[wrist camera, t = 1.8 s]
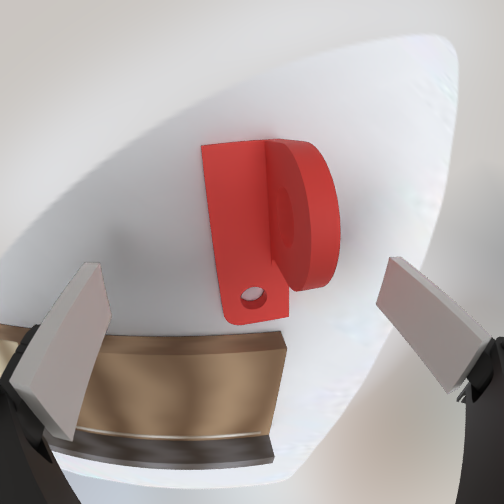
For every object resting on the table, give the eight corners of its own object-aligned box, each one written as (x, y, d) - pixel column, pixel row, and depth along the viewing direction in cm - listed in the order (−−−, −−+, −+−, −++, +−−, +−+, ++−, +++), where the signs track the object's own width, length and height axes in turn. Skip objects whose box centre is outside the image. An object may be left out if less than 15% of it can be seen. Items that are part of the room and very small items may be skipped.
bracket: (201, 145, 15) (199, 156, 8) (278, 138, 15) (341, 146, 8) (224, 317, 20) (239, 406, 13) (284, 307, 20) (322, 389, 13)
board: (27, 411, 22) (18, 439, 18) (-31, 318, 15) (-52, 347, 11) (263, 428, 28) (272, 462, 23) (280, 331, 21) (298, 378, 17)
